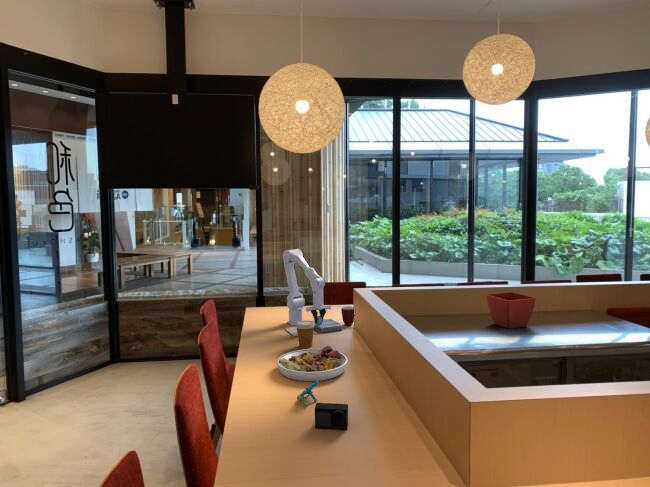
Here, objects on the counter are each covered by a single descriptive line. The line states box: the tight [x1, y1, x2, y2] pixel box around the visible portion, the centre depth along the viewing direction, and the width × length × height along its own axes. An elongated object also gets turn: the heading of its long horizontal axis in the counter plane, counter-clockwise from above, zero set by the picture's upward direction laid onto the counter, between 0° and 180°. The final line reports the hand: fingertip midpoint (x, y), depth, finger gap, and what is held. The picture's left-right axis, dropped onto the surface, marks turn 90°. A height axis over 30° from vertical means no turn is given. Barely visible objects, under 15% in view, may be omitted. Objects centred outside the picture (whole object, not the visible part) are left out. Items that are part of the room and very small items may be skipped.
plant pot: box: [486, 291, 537, 329], centre depth 270 cm, size 19×19×17 cm
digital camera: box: [314, 402, 349, 431], centre depth 153 cm, size 10×5×7 cm, turn 82°
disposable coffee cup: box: [295, 320, 315, 349], centre depth 238 cm, size 10×10×12 cm
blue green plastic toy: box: [296, 380, 320, 407], centre depth 173 cm, size 11×6×10 cm
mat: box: [284, 326, 318, 338], centre depth 265 cm, size 16×13×1 cm
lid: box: [312, 315, 343, 329], centre depth 271 cm, size 16×12×5 cm
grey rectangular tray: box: [314, 325, 343, 334], centre depth 271 cm, size 16×12×2 cm
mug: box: [340, 306, 355, 327], centre depth 276 cm, size 10×8×10 cm
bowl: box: [276, 345, 348, 382], centre depth 205 cm, size 30×30×8 cm
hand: (318, 322), depth 269 cm, fingers closed on lid, 2 cm apart
